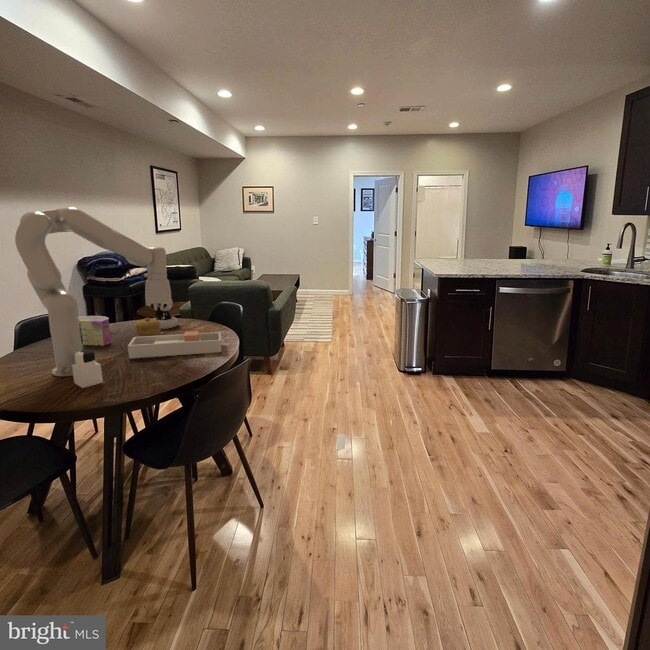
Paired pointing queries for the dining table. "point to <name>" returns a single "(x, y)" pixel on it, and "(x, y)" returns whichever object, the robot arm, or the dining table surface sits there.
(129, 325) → the dining table surface
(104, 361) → the dining table surface
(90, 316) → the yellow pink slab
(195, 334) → the block
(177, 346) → the channel
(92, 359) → the medicine bottle
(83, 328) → the box
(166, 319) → the decorative figurine
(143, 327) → the pot
